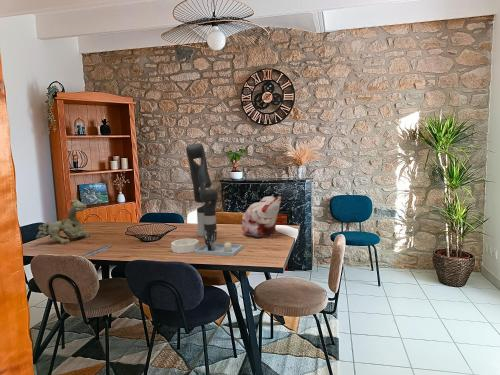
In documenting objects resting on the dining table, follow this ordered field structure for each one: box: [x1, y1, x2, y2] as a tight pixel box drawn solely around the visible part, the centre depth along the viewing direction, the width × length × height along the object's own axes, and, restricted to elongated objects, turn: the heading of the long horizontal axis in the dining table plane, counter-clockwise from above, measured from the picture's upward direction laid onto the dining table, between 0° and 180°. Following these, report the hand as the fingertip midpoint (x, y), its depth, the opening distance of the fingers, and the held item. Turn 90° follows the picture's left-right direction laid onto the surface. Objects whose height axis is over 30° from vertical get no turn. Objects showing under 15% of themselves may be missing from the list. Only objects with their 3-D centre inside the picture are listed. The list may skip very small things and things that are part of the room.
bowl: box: [170, 238, 201, 254], centre depth 227 cm, size 16×16×5 cm
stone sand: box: [223, 241, 232, 252], centre depth 221 cm, size 4×4×5 cm
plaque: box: [81, 245, 115, 259], centre depth 227 cm, size 33×10×1 cm, turn 163°
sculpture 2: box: [241, 195, 282, 238], centre depth 262 cm, size 31×29×30 cm
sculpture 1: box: [35, 198, 91, 245], centre depth 257 cm, size 29×27×30 cm
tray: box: [194, 242, 244, 257], centre depth 223 cm, size 18×24×3 cm
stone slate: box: [211, 241, 216, 251], centre depth 224 cm, size 4×4×5 cm
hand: (211, 249), depth 224 cm, fingers closed on stone slate, 4 cm apart
